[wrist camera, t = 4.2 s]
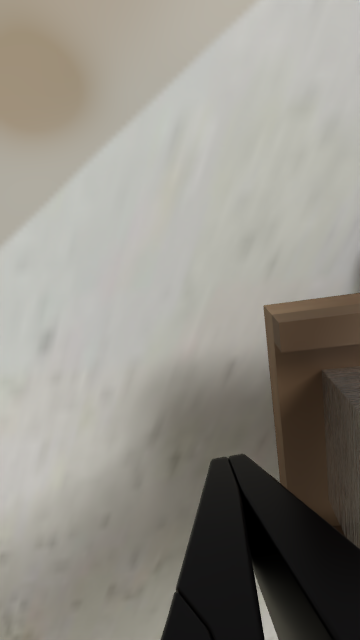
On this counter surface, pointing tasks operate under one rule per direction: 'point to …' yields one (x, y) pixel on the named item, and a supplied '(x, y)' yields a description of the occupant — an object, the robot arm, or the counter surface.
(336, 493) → the steel block
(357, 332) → the beam
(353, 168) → the counter surface
